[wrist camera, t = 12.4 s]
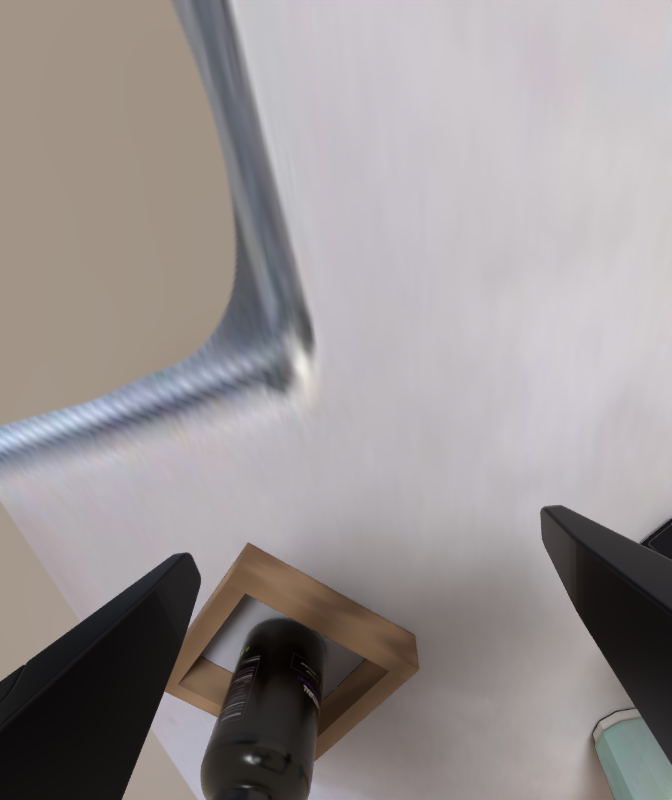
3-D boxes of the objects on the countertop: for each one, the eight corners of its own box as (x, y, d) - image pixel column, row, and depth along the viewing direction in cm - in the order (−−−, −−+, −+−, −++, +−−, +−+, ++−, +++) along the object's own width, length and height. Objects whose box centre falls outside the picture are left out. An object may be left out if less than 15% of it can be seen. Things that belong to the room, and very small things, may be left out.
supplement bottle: (343, 642, 28) (327, 886, 17) (298, 684, 30) (257, 925, 19) (272, 600, 27) (204, 826, 16) (231, 647, 29) (145, 875, 18)
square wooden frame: (414, 635, 27) (419, 669, 25) (315, 728, 32) (311, 763, 30) (247, 542, 26) (235, 569, 23) (170, 654, 30) (153, 686, 28)
